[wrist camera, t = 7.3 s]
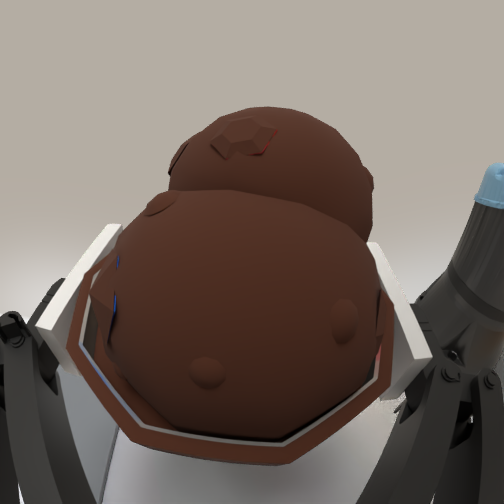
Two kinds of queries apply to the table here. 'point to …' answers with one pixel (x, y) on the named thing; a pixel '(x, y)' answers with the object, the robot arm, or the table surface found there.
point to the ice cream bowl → (242, 297)
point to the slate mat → (89, 430)
